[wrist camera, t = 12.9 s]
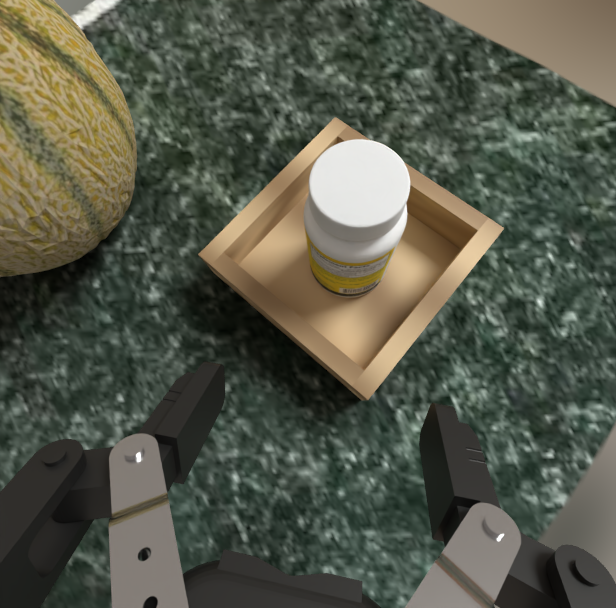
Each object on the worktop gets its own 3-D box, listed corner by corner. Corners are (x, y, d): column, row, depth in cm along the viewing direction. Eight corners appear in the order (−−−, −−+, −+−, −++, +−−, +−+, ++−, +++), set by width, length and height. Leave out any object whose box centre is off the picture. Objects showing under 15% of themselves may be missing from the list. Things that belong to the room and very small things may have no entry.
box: (361, 400, 20) (367, 400, 17) (214, 273, 22) (198, 254, 19) (480, 251, 22) (504, 228, 19) (333, 150, 24) (335, 117, 22)
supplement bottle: (337, 215, 22) (343, 111, 14) (400, 252, 22) (445, 163, 13) (294, 273, 22) (274, 196, 13) (358, 314, 21) (379, 259, 13)
